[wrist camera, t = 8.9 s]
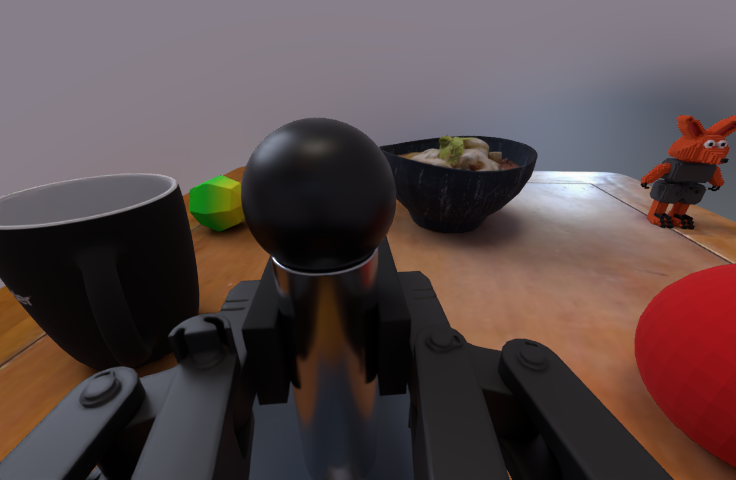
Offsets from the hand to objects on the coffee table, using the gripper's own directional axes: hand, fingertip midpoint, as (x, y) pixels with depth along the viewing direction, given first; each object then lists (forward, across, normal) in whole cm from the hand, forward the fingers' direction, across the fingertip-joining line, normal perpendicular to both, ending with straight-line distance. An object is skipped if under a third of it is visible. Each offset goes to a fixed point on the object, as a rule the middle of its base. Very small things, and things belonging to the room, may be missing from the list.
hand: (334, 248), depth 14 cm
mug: (+4, -13, -9) cm, 16 cm away
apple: (+24, -13, -9) cm, 28 cm away
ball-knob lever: (-2, 0, -7) cm, 7 cm away
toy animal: (+19, +39, -9) cm, 45 cm away
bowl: (+23, +13, -9) cm, 28 cm away
